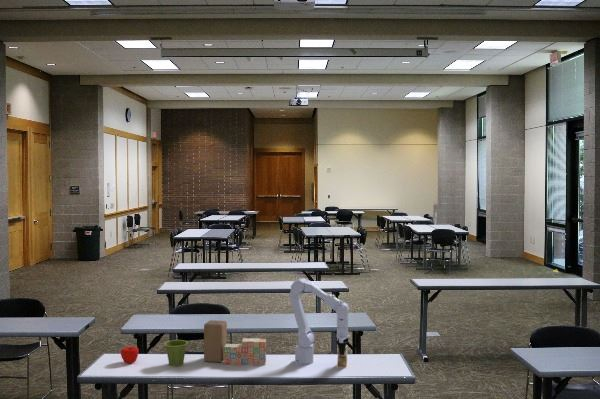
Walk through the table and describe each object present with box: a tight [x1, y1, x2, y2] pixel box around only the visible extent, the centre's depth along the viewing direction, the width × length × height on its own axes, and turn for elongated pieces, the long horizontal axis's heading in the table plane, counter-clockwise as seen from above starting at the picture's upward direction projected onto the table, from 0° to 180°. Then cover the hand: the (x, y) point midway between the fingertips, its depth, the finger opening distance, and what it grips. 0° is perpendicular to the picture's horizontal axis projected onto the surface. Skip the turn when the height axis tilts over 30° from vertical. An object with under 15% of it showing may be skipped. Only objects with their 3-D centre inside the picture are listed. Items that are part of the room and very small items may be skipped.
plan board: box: [335, 362, 350, 369], centre depth 290 cm, size 14×16×1 cm
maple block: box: [337, 344, 348, 357], centre depth 293 cm, size 4×4×4 cm
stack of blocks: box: [223, 337, 267, 366], centre depth 299 cm, size 21×6×12 cm, turn 89°
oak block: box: [337, 355, 348, 368], centre depth 293 cm, size 4×4×4 cm
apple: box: [120, 346, 139, 364], centre depth 299 cm, size 9×9×8 cm
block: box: [203, 319, 228, 363], centre depth 304 cm, size 10×10×20 cm
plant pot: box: [164, 339, 189, 367], centre depth 296 cm, size 12×12×11 cm
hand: (342, 353), depth 293 cm, fingers closed on maple block, 4 cm apart
